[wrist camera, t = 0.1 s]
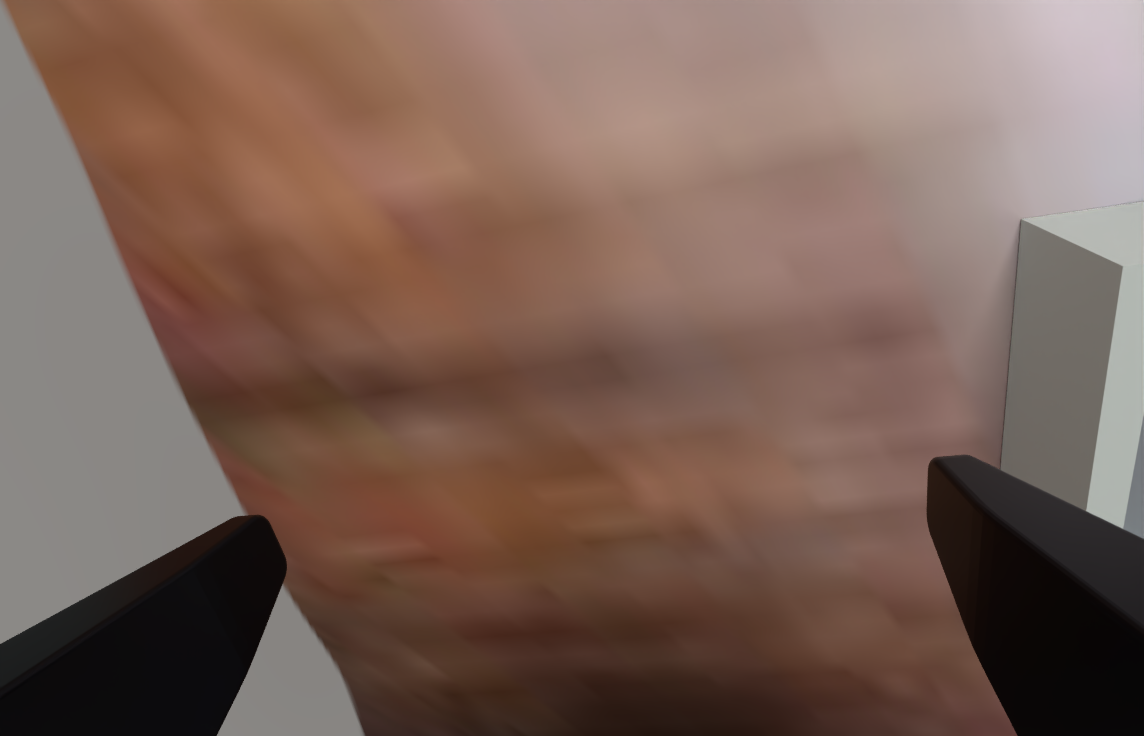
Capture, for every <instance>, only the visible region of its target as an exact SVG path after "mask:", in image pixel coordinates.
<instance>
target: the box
mask: <svg viewBox="0 0 1144 736" xmlns="http://www.w3.org/2000/svg"><path fill="white" fill-rule="evenodd" d="M1000 470H1002V471H1004V472H1006V473H1008V474H1010V475H1012V476H1014V477H1016V478H1018V479H1020V480H1023V481H1025V482H1027V483H1029V484H1031V485H1033V486H1035V487H1037V488H1039V489H1041V490H1043V491H1045V492H1047V493H1050V494H1052V495H1054V496H1056V497H1058V498H1060V499H1062V500H1064V501H1066V502H1068V503H1070V504H1072V505H1075V506H1077V507H1079V508H1081V509H1083V510H1085V511H1087V512H1089V513H1091V514H1093V515H1095V516H1097V517H1100V518H1102V519H1104V520H1106V521H1108V522H1110V523H1112V524H1114V525H1116V526H1118V527H1120V528H1122V529H1125V530H1127V531H1129V532H1131V533H1133V534H1135V535H1137V536H1139V537H1141V538H1143V539H1144V201H1142V202H1136V203H1129V204H1122V205H1115V206H1108V207H1101V208H1094V209H1087V210H1080V211H1074V212H1067V213H1060V214H1053V215H1046V216H1039V217H1032V218H1025V219H1021V230H1020V242H1019V253H1018V265H1017V277H1016V289H1015V301H1014V313H1013V325H1012V337H1011V348H1010V360H1009V372H1008V384H1007V396H1006V408H1005V420H1004V431H1003V443H1002V455H1001V467H1000Z"/></svg>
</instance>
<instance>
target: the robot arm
mask: <svg viewBox="0 0 1144 736" xmlns="http://www.w3.org/2000/svg"><path fill="white" fill-rule="evenodd" d="M927 522H928V528H929V531H930V535H931V537H932V540H933V543H934V545H935V548H936V551H937V553H938V556H939V559H940V561H941V564H942V567H943V570H944V572H945V575H946V578H947V580H948V583H949V586H950V588H951V591H952V594H953V596H954V599H955V602H956V604H957V607H958V610H959V612H960V615H961V618H962V620H963V623H964V626H965V628H966V631H967V633H968V636H969V639H970V641H971V644H972V646H973V648H974V650H975V653H976V655H977V657H978V659H979V661H980V663H981V665H982V667H983V669H984V671H985V673H986V675H987V677H988V679H989V681H990V683H991V685H992V687H993V689H994V691H995V693H996V695H997V696H998V698H999V700H1000V702H1001V704H1002V706H1003V708H1004V710H1005V712H1006V714H1007V716H1008V718H1009V720H1010V722H1011V724H1012V726H1013V728H1014V730H1015V732H1016V733H1017V735H1018V736H1144V539H1143V538H1141V537H1139V536H1137V535H1135V534H1133V533H1131V532H1129V531H1127V530H1125V529H1122V528H1120V527H1118V526H1116V525H1114V524H1112V523H1110V522H1108V521H1106V520H1104V519H1102V518H1100V517H1097V516H1095V515H1093V514H1091V513H1089V512H1087V511H1085V510H1083V509H1081V508H1079V507H1077V506H1075V505H1072V504H1070V503H1068V502H1066V501H1064V500H1062V499H1060V498H1058V497H1056V496H1054V495H1052V494H1050V493H1047V492H1045V491H1043V490H1041V489H1039V488H1037V487H1035V486H1033V485H1031V484H1029V483H1027V482H1025V481H1023V480H1020V479H1018V478H1016V477H1014V476H1012V475H1010V474H1008V473H1006V472H1004V471H1002V470H1000V469H998V468H995V467H993V466H991V465H989V464H987V463H985V462H983V461H981V460H979V459H977V458H975V457H972V456H970V455H955V456H943V457H935V458H933V459H932V460H931V461H930V463H929V467H928V484H927ZM286 571H287V562H286V558H285V555H284V553H283V551H282V548H281V546H280V544H279V542H278V540H277V537H276V535H275V533H274V531H273V529H272V527H271V524H270V523H269V521H268V520H267V519H266V518H265V517H264V516H261V515H248V516H237V517H234V518H231V519H230V520H228V521H226V522H224V523H222V524H220V525H218V526H217V527H215V528H213V529H211V530H209V531H207V532H206V533H204V534H202V535H200V536H198V537H196V538H195V539H193V540H191V541H189V542H187V543H185V544H184V545H182V546H180V547H178V548H176V549H175V550H173V551H171V552H169V553H167V554H165V555H163V556H162V557H160V558H158V559H156V560H154V561H152V562H150V563H149V564H147V565H145V566H143V567H141V568H139V569H138V570H136V571H134V572H132V573H130V574H128V575H127V576H125V577H123V578H121V579H119V580H117V581H115V582H114V583H112V584H110V585H108V586H106V587H104V588H103V589H101V590H99V591H97V592H95V593H93V594H92V595H90V596H88V597H86V598H84V599H82V600H80V601H79V602H77V603H75V604H73V605H71V606H70V607H68V608H66V609H64V610H62V611H60V612H59V613H57V614H55V615H53V616H51V617H50V618H47V619H46V620H44V621H42V622H40V623H38V624H36V625H35V626H33V627H31V628H29V629H27V630H25V631H23V632H22V633H20V634H18V635H16V636H14V637H12V638H11V639H9V640H7V641H5V642H3V643H2V644H0V736H217V734H218V731H219V730H220V728H221V726H222V724H223V722H224V720H225V718H226V716H227V714H228V712H229V710H230V708H231V706H232V704H233V701H234V699H235V698H236V696H237V693H238V692H239V690H240V687H241V685H242V683H243V681H244V679H245V677H246V675H247V672H248V670H249V668H250V665H251V663H252V660H253V658H254V656H255V653H256V651H257V648H258V645H259V642H260V640H261V637H262V635H263V633H264V630H265V627H266V625H267V622H268V620H269V617H270V615H271V612H272V609H273V607H274V604H275V602H276V599H277V597H278V594H279V592H280V589H281V586H282V584H283V581H284V579H285V576H286Z"/></svg>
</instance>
